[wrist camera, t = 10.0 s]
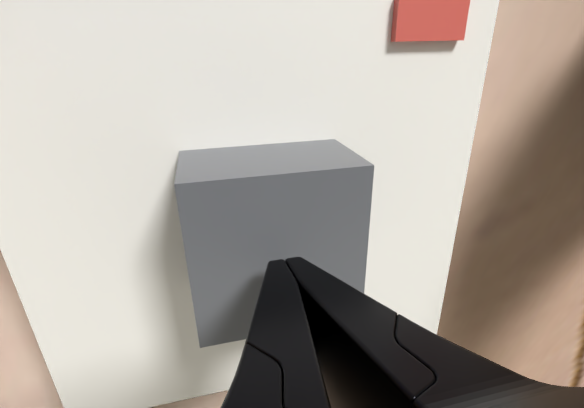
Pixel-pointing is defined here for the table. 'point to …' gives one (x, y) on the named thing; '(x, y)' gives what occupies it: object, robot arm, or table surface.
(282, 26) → the socket plate
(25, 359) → the table surface
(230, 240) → the plug
